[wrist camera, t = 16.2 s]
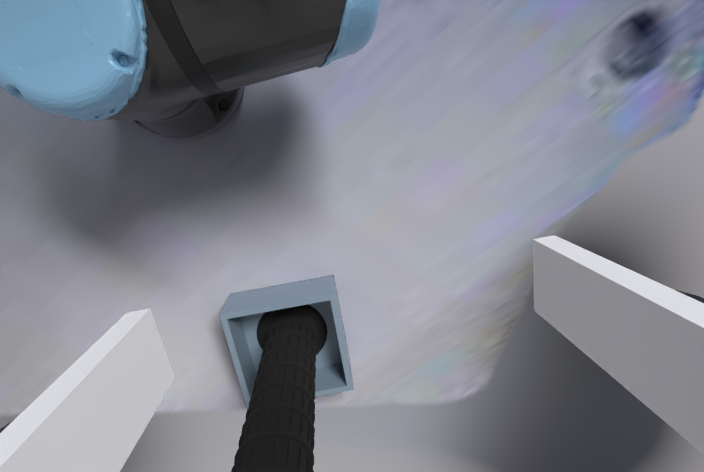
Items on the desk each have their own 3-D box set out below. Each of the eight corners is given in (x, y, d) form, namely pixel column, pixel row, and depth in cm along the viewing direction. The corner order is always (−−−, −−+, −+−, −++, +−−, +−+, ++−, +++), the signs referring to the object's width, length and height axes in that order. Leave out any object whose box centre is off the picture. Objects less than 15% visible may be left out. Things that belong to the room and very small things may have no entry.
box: (230, 293, 51) (218, 314, 45) (333, 275, 52) (335, 293, 46) (254, 380, 55) (247, 410, 50) (350, 362, 56) (353, 389, 50)
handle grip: (242, 339, 52) (298, 375, 55) (168, 537, 27) (279, 588, 29) (285, 287, 50) (341, 327, 53) (250, 448, 25) (360, 510, 28)
